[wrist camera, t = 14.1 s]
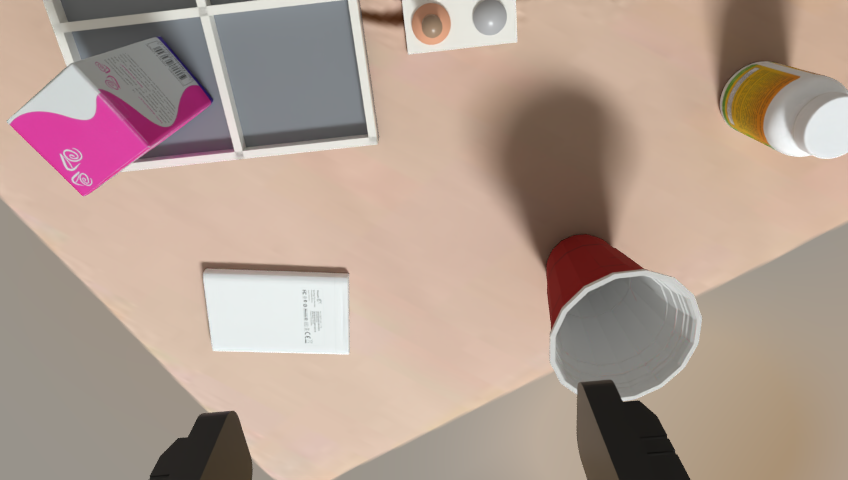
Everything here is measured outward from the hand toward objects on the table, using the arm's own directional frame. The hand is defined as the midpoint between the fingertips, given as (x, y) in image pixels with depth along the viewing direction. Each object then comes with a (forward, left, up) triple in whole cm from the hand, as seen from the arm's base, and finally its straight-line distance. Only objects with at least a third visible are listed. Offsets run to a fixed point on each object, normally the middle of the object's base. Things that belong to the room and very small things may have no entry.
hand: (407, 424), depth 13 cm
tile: (-4, -8, -34) cm, 35 cm away
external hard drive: (+14, +17, -35) cm, 41 cm away
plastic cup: (-13, +15, -34) cm, 39 cm away
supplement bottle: (-26, +2, -34) cm, 43 cm away
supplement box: (+18, -3, -33) cm, 38 cm away
